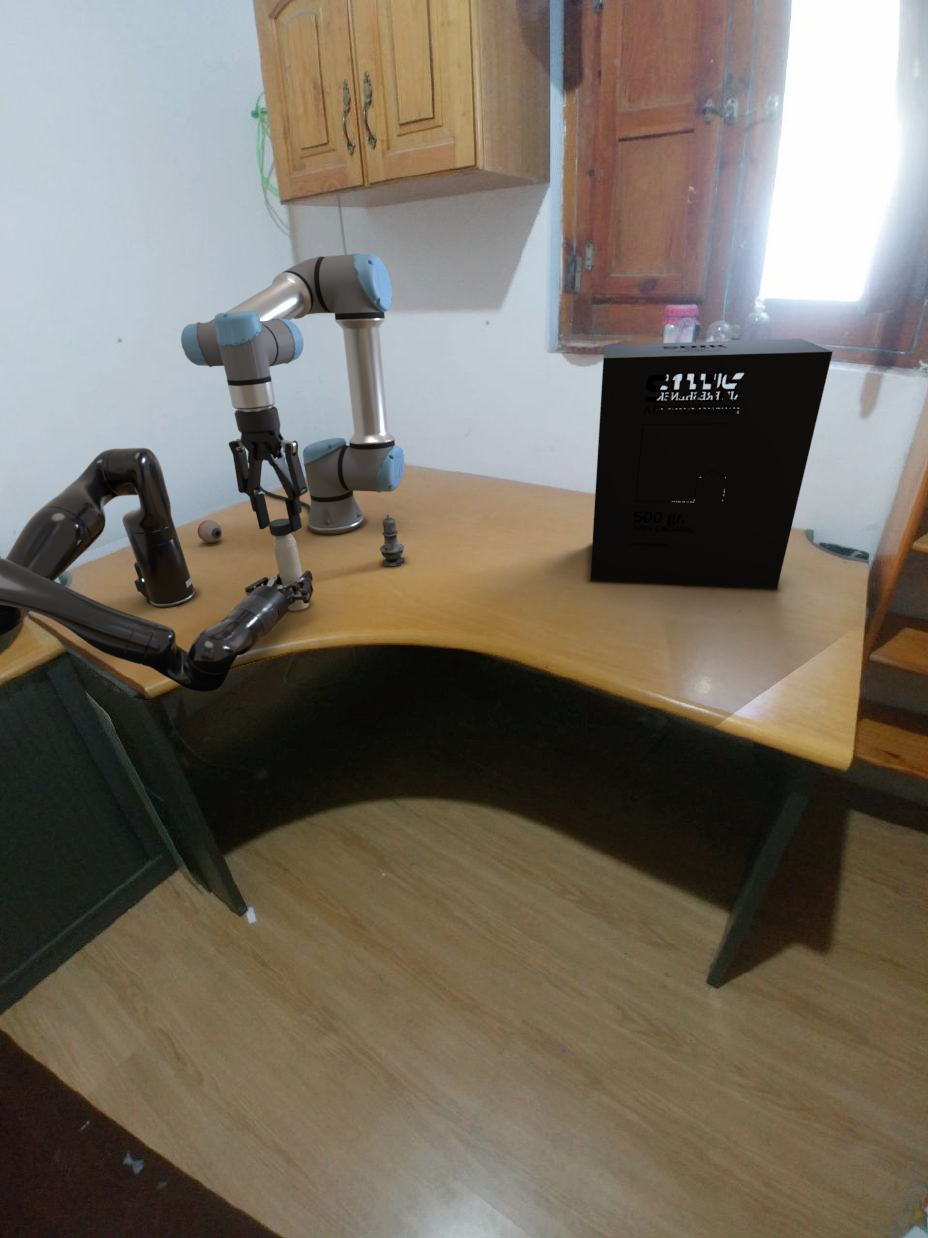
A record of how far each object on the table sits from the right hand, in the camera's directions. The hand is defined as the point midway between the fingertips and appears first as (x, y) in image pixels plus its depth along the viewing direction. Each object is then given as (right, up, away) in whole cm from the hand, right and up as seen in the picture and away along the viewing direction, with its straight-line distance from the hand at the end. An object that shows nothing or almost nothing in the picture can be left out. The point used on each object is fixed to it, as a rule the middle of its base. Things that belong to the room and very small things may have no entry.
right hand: (280, 527), depth 120 cm
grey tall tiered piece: (+19, -4, +26) cm, 33 cm away
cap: (0, +1, 0) cm, 1 cm away
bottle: (+1, -15, +9) cm, 18 cm away
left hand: (+1, -9, +8) cm, 12 cm away
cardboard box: (+84, -6, +16) cm, 86 cm away
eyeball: (-31, +3, +43) cm, 53 cm away
